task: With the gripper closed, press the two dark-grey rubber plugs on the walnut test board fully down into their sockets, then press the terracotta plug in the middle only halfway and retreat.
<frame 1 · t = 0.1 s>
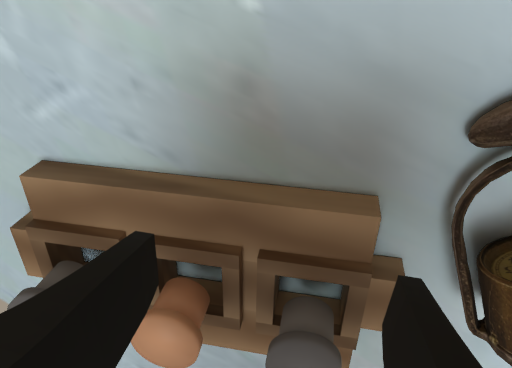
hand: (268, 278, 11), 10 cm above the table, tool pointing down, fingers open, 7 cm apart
terracotta plug: (175, 318, 21), point 5 cm above the table, slide at 0.0 cm
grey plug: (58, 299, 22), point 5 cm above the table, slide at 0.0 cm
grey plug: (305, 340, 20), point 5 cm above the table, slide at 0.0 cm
walnut test board: (204, 257, 25), on the table
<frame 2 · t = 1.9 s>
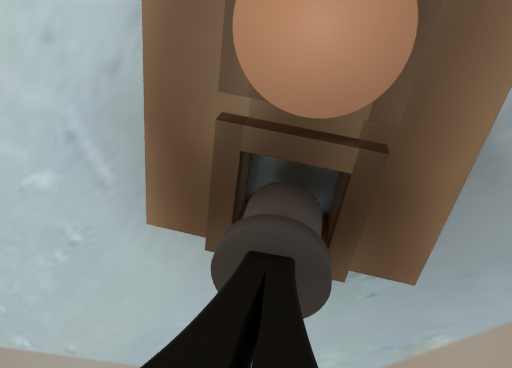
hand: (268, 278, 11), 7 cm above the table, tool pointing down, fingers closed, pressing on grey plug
terracotta plug: (324, 20, 9), point 5 cm above the table, slide at 0.0 cm
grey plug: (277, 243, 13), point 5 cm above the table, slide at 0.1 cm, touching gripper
walnut test board: (329, 0, 13), on the table
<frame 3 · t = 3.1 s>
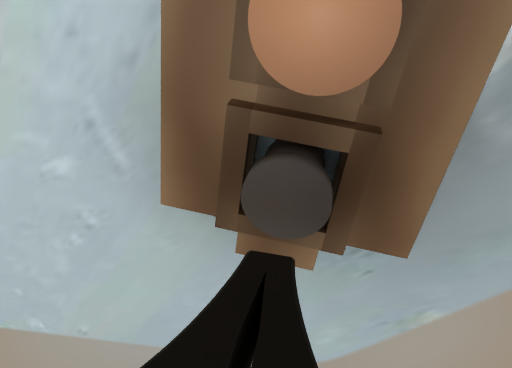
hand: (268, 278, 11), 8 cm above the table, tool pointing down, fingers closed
terracotta plug: (324, 13, 11), point 5 cm above the table, slide at 0.0 cm
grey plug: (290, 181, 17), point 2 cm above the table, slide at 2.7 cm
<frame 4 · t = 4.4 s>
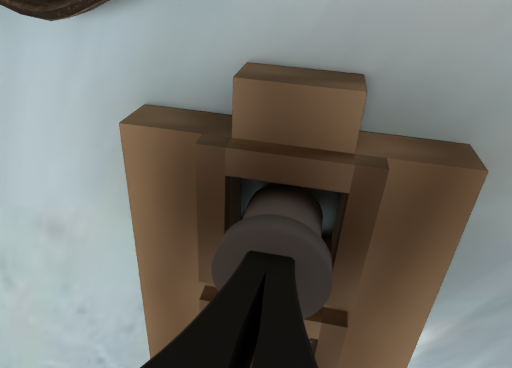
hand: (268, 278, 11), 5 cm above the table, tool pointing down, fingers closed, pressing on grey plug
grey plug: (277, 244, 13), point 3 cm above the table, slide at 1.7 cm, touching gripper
walnut test board: (275, 310, 19), on the table
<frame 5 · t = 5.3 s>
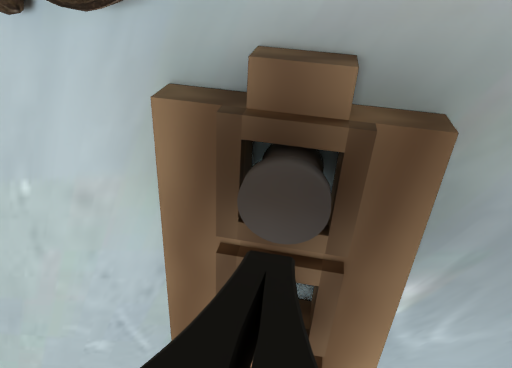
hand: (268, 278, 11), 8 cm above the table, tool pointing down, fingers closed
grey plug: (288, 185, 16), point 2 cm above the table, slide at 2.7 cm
walnut test board: (280, 270, 22), on the table
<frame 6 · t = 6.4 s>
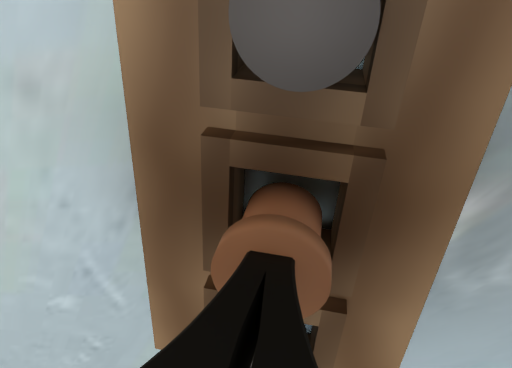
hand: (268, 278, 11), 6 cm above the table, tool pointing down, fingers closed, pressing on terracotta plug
terracotta plug: (277, 243, 13), point 4 cm above the table, slide at 1.1 cm, touching gripper
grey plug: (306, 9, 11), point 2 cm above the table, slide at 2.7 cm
walnut test board: (290, 184, 16), on the table
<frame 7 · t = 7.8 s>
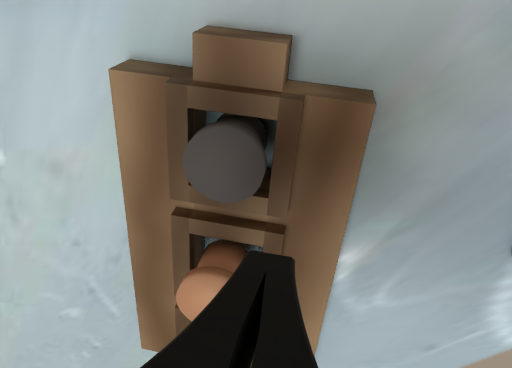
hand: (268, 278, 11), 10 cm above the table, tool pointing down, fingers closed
terracotta plug: (219, 280, 21), point 4 cm above the table, slide at 1.3 cm
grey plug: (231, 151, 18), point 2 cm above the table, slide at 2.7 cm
walnut test board: (235, 237, 24), on the table
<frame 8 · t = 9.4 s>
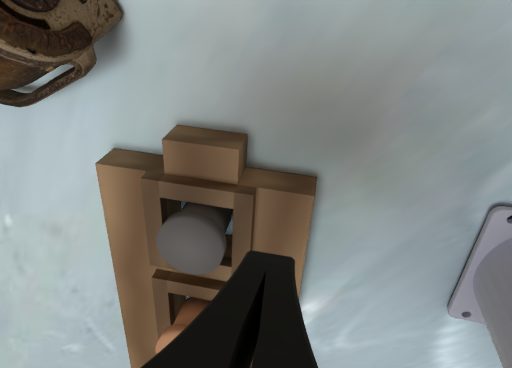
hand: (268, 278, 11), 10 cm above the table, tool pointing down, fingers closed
terracotta plug: (194, 332, 24), point 4 cm above the table, slide at 1.3 cm
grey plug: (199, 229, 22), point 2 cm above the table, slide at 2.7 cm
brown watering can: (14, 9, 20), on the table
walnut test board: (211, 288, 27), on the table
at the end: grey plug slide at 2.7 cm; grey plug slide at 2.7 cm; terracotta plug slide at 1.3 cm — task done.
